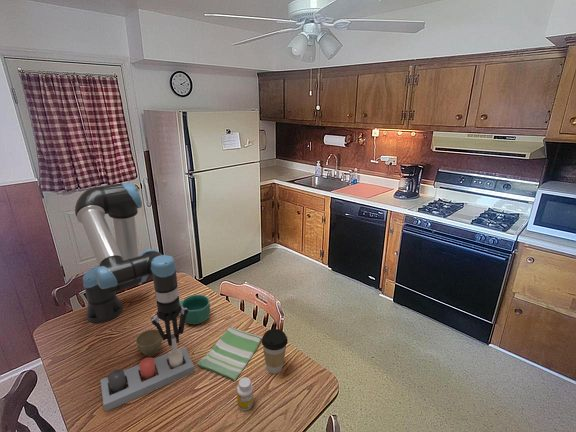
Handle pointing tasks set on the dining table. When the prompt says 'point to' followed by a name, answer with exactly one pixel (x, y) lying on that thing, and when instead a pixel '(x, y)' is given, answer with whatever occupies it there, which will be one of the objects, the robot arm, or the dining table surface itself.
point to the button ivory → (175, 359)
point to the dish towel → (231, 353)
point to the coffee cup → (274, 349)
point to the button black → (117, 381)
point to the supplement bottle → (245, 394)
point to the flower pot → (149, 342)
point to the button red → (147, 368)
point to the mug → (196, 308)
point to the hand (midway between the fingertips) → (174, 350)
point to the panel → (148, 385)
